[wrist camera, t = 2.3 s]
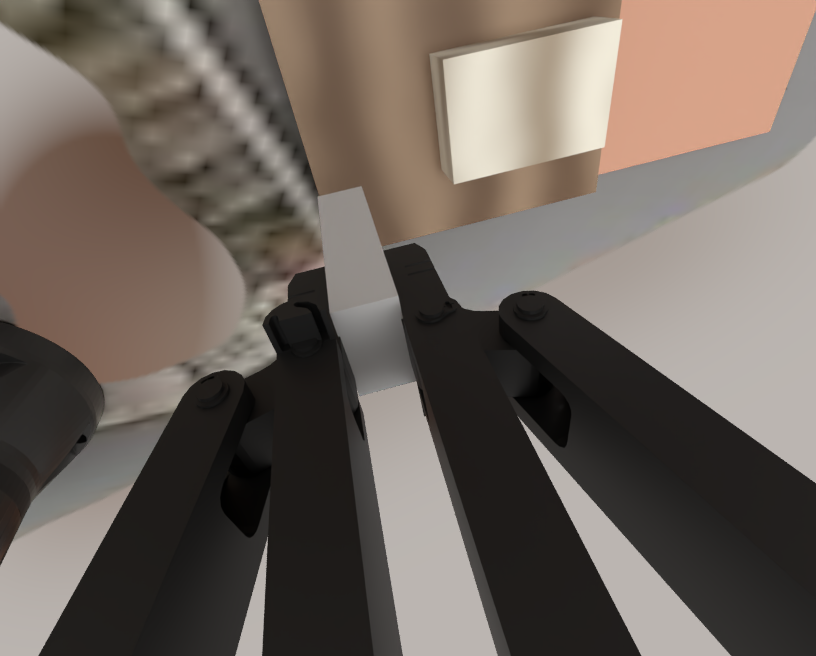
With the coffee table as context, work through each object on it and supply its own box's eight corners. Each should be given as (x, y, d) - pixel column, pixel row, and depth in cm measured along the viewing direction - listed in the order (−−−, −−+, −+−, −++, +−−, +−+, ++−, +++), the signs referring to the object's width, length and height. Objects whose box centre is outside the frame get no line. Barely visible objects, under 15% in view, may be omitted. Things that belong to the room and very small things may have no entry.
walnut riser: (333, 230, 31) (338, 257, 27) (258, -15, 21) (253, -16, 18) (566, 172, 32) (595, 192, 29) (588, -84, 23) (634, -96, 20)
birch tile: (441, 169, 25) (454, 184, 23) (429, 53, 22) (442, 59, 20) (581, 135, 26) (604, 147, 24) (593, 16, 22) (622, 19, 20)
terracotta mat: (571, 177, 32) (576, 180, 32) (598, -99, 22) (604, -101, 22) (763, 129, 33) (769, 131, 33) (867, -155, 23) (878, -157, 23)
